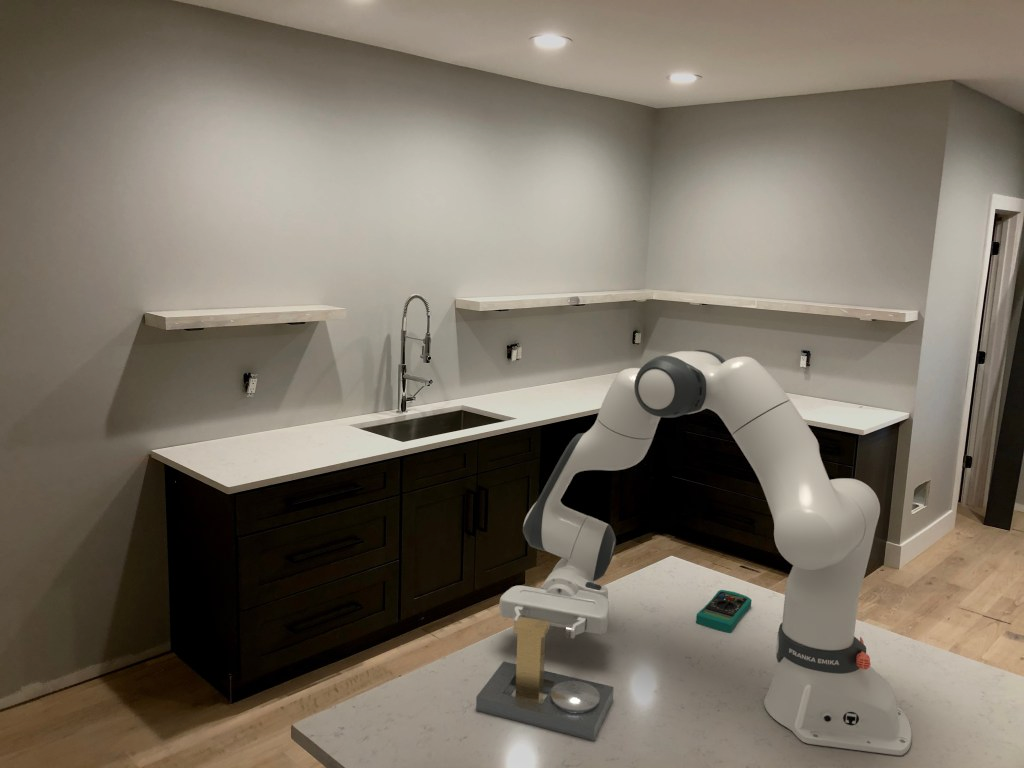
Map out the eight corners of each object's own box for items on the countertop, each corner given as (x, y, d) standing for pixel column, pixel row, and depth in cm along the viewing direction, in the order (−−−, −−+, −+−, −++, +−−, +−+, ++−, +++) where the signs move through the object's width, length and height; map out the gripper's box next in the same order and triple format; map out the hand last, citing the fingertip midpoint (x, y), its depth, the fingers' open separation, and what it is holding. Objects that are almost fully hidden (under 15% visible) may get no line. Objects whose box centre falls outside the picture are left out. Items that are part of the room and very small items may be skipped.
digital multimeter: (752, 608, 171) (753, 595, 171) (730, 635, 159) (731, 622, 158) (718, 599, 175) (719, 586, 174) (694, 625, 163) (695, 612, 162)
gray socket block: (612, 700, 135) (613, 682, 134) (594, 741, 124) (595, 721, 123) (503, 674, 142) (503, 657, 141) (476, 710, 131) (476, 692, 130)
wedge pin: (546, 698, 135) (549, 621, 132) (541, 710, 131) (544, 631, 129) (517, 692, 136) (519, 616, 134) (511, 703, 133) (513, 626, 130)
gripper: (512, 572, 155) (488, 602, 142) (615, 589, 149) (600, 622, 136) (511, 602, 156) (487, 634, 143) (614, 620, 150) (598, 656, 137)
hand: (543, 629), depth 140 cm, fingers open, 8 cm apart
